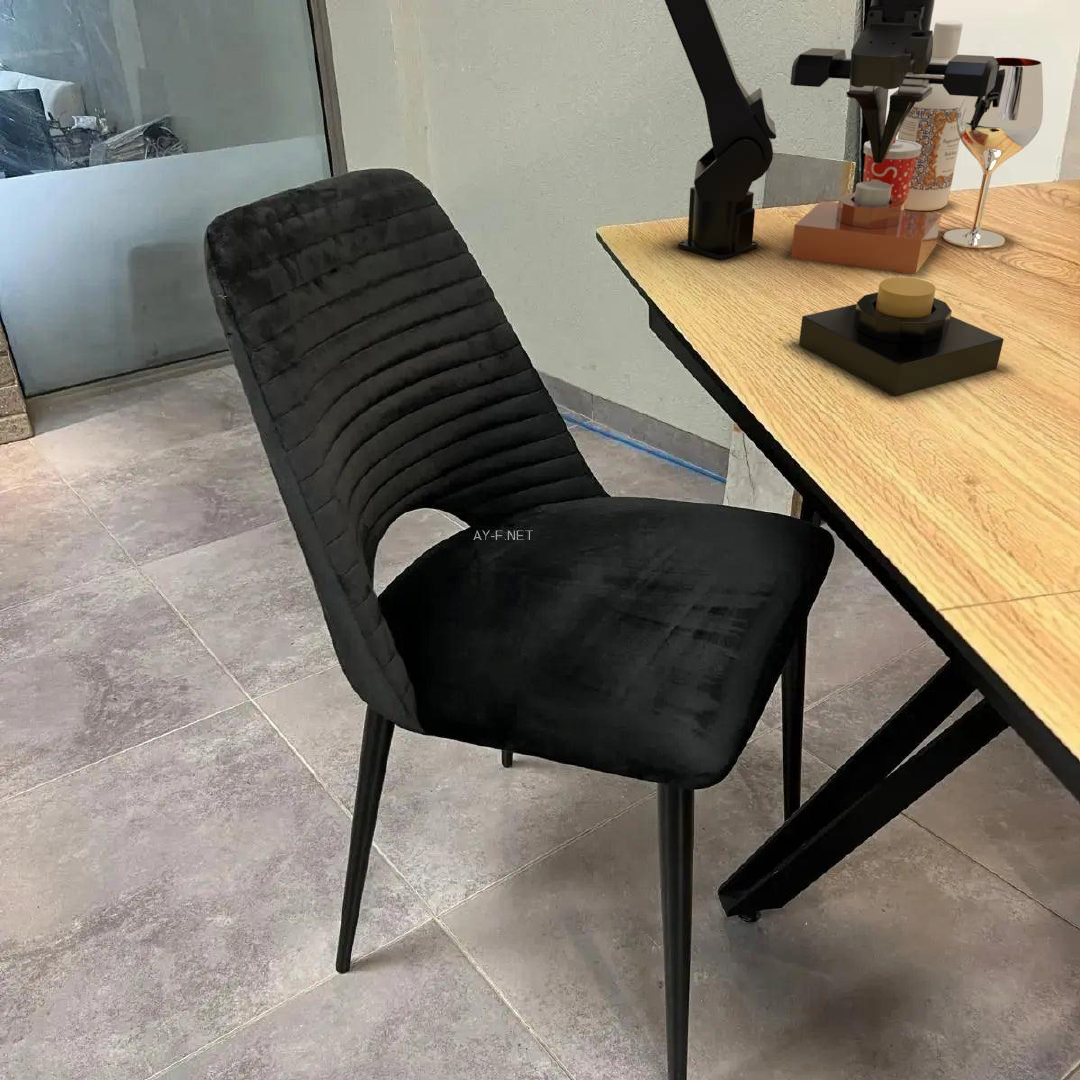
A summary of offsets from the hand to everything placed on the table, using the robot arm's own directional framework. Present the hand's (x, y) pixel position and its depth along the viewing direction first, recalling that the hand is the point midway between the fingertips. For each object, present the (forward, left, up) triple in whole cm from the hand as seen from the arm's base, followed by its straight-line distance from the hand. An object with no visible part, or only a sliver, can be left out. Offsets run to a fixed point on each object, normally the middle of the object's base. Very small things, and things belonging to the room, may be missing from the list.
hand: (878, 162), depth 106 cm
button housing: (0, 0, -9) cm, 9 cm away
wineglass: (+6, +12, -10) cm, 16 cm away
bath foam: (-6, +20, -10) cm, 23 cm away
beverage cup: (-4, +9, -10) cm, 14 cm away
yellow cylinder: (+18, -22, -5) cm, 29 cm away
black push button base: (+18, -22, -9) cm, 30 cm away
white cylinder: (0, 0, -4) cm, 4 cm away
